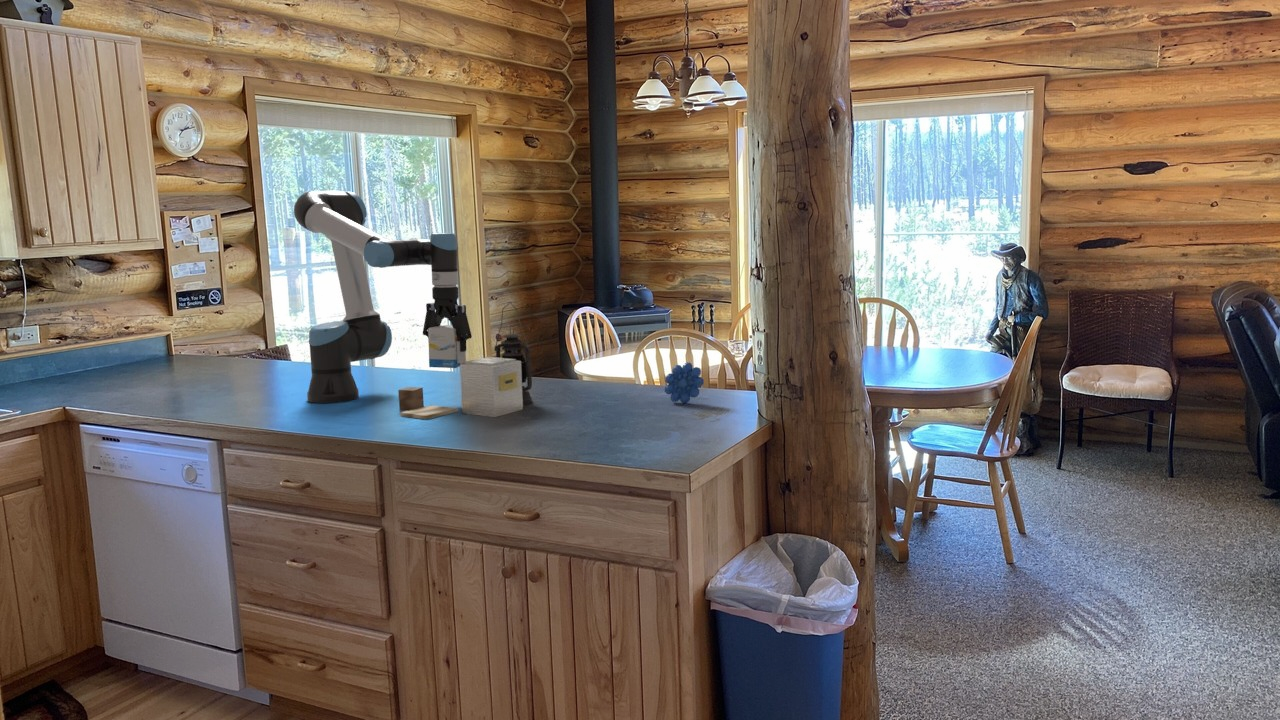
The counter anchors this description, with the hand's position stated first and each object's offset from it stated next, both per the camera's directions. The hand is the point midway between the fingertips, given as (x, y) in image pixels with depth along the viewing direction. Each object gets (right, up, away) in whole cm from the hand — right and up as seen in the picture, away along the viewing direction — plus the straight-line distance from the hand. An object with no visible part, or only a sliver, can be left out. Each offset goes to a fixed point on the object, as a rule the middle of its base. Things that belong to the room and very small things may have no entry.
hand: (447, 360), depth 283 cm
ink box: (0, -2, 0) cm, 2 cm away
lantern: (+20, -12, 0) cm, 23 cm away
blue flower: (+70, -12, -6) cm, 71 cm away
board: (-2, -15, -14) cm, 21 cm away
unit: (+15, -14, -13) cm, 24 cm away
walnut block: (-9, -14, -6) cm, 18 cm away
